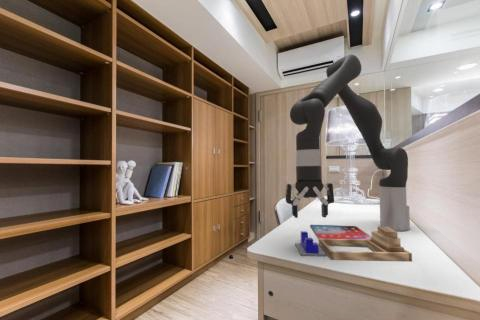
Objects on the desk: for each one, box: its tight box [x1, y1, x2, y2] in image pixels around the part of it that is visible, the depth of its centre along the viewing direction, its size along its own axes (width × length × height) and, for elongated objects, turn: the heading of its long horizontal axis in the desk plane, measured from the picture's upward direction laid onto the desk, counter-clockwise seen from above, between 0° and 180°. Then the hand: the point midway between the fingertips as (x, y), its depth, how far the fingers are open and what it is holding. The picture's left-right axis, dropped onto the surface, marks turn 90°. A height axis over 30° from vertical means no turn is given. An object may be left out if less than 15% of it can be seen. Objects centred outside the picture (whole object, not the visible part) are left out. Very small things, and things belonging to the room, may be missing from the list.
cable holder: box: [300, 230, 320, 254], centre depth 68 cm, size 8×4×4 cm, turn 176°
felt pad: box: [294, 242, 327, 257], centre depth 68 cm, size 7×9×1 cm
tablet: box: [309, 224, 371, 248], centre depth 83 cm, size 19×25×1 cm
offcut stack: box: [370, 226, 405, 252], centre depth 66 cm, size 5×9×6 cm, turn 177°
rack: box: [318, 239, 413, 262], centre depth 67 cm, size 21×12×2 cm, turn 87°
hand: (309, 217), depth 69 cm, fingers open, 8 cm apart
